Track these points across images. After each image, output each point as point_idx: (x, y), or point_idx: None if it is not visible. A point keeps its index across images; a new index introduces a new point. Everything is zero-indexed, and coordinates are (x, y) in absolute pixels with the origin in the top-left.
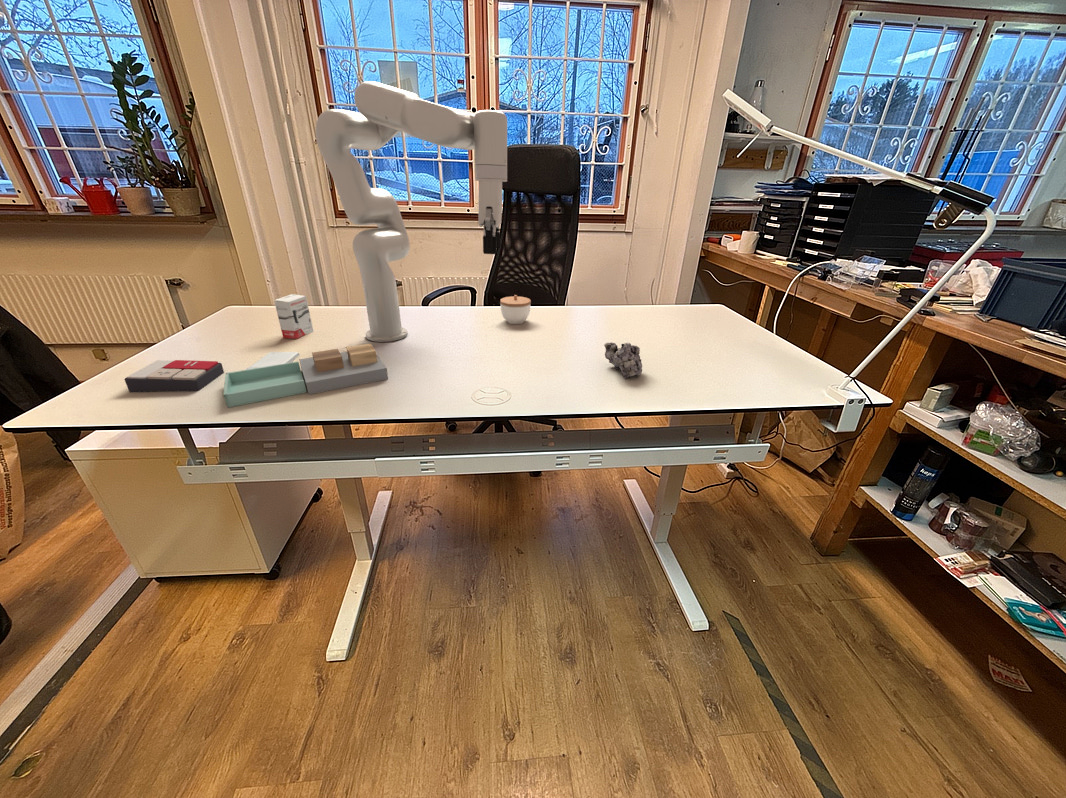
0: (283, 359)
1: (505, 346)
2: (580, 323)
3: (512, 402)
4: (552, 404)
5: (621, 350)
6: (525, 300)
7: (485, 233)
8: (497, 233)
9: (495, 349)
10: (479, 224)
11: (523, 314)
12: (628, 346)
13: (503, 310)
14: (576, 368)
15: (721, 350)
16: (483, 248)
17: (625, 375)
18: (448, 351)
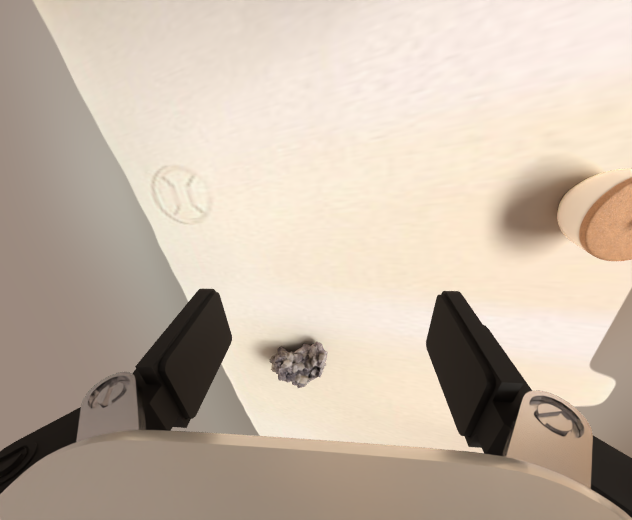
0: None
1: (396, 195)
2: (522, 325)
3: (174, 227)
4: (188, 272)
5: (283, 370)
6: (617, 249)
7: (78, 409)
8: (462, 424)
9: (378, 176)
10: (39, 462)
11: (564, 232)
12: (286, 381)
13: (603, 180)
14: (302, 303)
15: (376, 435)
16: (186, 305)
17: (279, 350)
18: (364, 57)
